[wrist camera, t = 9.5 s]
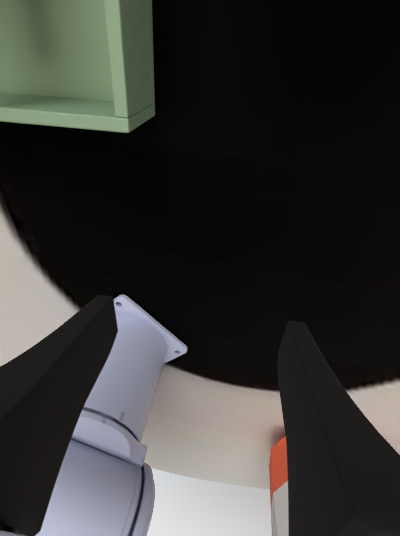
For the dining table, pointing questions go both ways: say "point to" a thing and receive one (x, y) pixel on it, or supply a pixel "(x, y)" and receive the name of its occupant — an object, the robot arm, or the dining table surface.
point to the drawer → (77, 63)
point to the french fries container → (279, 489)
